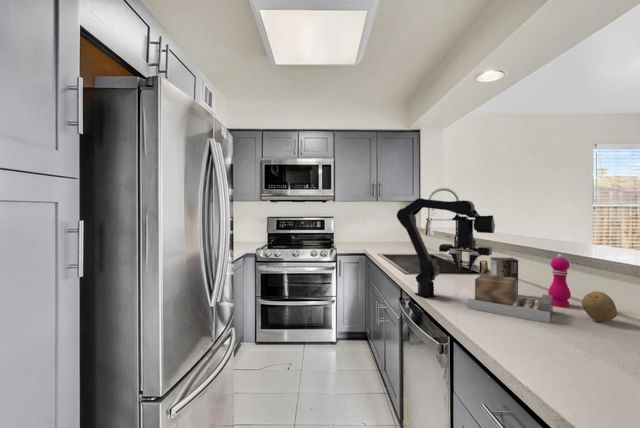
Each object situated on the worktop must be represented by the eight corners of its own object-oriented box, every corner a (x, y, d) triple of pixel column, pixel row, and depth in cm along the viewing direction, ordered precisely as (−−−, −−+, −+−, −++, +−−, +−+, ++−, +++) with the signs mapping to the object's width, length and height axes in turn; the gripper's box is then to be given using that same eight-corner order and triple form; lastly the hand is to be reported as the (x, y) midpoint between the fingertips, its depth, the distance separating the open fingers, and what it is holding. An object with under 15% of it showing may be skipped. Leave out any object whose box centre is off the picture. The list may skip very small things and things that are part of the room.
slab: (474, 300, 126) (475, 279, 126) (482, 293, 136) (482, 274, 136) (511, 306, 119) (511, 283, 119) (516, 298, 129) (516, 278, 128)
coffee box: (511, 293, 148) (512, 257, 148) (518, 297, 141) (519, 259, 141) (489, 293, 149) (490, 256, 148) (495, 297, 142) (496, 259, 142)
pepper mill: (550, 306, 130) (551, 254, 129) (545, 301, 136) (547, 252, 136) (573, 308, 127) (574, 255, 126) (567, 303, 134) (568, 253, 133)
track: (467, 308, 126) (467, 292, 126) (477, 299, 139) (478, 284, 139) (549, 323, 111) (550, 305, 110) (552, 311, 123) (553, 295, 123)
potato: (579, 314, 119) (579, 287, 119) (611, 319, 115) (612, 290, 115) (583, 322, 111) (584, 292, 111) (618, 327, 107) (619, 296, 107)
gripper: (495, 232, 135) (494, 270, 135) (447, 229, 146) (446, 265, 146) (489, 233, 126) (488, 275, 126) (438, 231, 137) (438, 269, 137)
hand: (464, 270), depth 134 cm, fingers open, 4 cm apart
